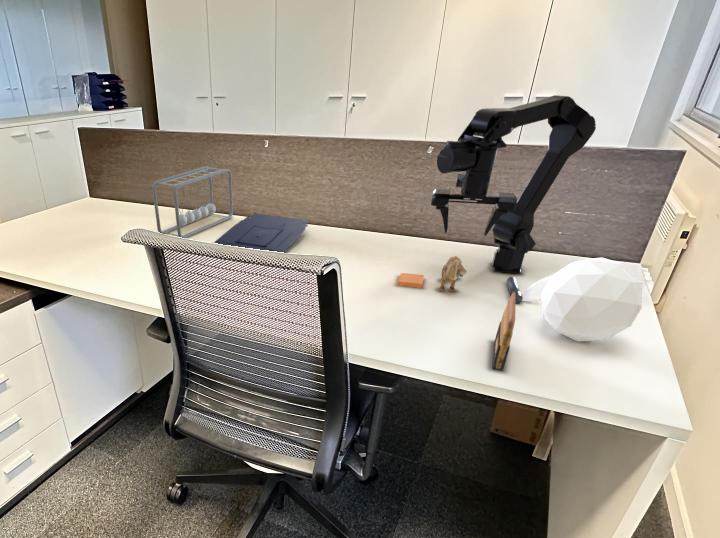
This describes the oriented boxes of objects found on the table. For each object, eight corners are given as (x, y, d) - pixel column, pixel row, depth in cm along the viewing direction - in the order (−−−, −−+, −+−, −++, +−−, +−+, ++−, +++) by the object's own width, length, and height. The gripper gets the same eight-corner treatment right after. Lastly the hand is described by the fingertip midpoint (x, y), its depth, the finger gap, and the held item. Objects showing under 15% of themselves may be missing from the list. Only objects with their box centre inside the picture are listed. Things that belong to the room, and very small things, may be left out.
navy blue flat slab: (314, 228, 164) (314, 218, 161) (275, 270, 144) (275, 258, 142) (250, 220, 174) (250, 210, 172) (206, 257, 155) (205, 247, 152)
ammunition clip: (493, 342, 102) (509, 290, 95) (503, 344, 101) (519, 291, 95) (491, 368, 94) (508, 313, 87) (502, 371, 93) (519, 315, 87)
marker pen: (508, 284, 126) (516, 279, 125) (515, 305, 116) (524, 300, 115) (504, 278, 126) (512, 273, 125) (510, 299, 116) (519, 294, 115)
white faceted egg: (630, 261, 85) (615, 217, 106) (497, 309, 100) (506, 262, 120) (665, 338, 88) (644, 281, 109) (531, 374, 103) (534, 317, 124)
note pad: (423, 279, 130) (424, 274, 129) (422, 288, 125) (422, 283, 124) (399, 276, 132) (400, 272, 131) (397, 285, 127) (398, 281, 126)
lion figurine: (461, 298, 119) (469, 264, 114) (438, 296, 121) (445, 262, 116) (457, 275, 131) (465, 242, 126) (436, 273, 132) (443, 241, 127)
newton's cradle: (212, 213, 188) (209, 164, 178) (233, 217, 182) (231, 167, 173) (157, 235, 168) (150, 182, 158) (180, 240, 162) (174, 186, 153)
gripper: (520, 163, 118) (503, 227, 126) (438, 160, 124) (427, 221, 132) (525, 173, 109) (506, 241, 118) (436, 170, 115) (425, 234, 124)
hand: (465, 233), depth 123 cm, fingers open, 9 cm apart
